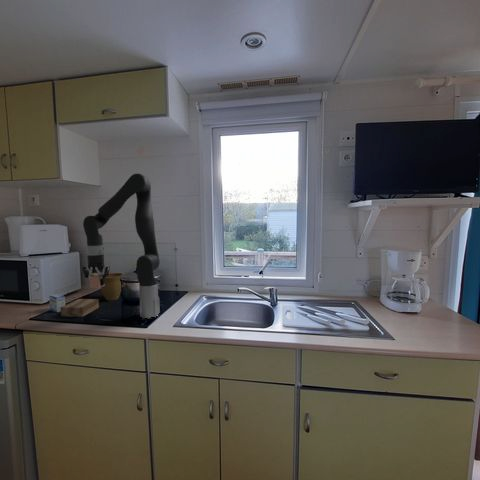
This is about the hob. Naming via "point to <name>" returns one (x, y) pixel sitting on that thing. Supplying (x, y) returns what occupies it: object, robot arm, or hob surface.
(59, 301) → the medicine box
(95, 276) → the terracotta block
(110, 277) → the plant pot
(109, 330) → the hob surface
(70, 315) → the walnut plinth
